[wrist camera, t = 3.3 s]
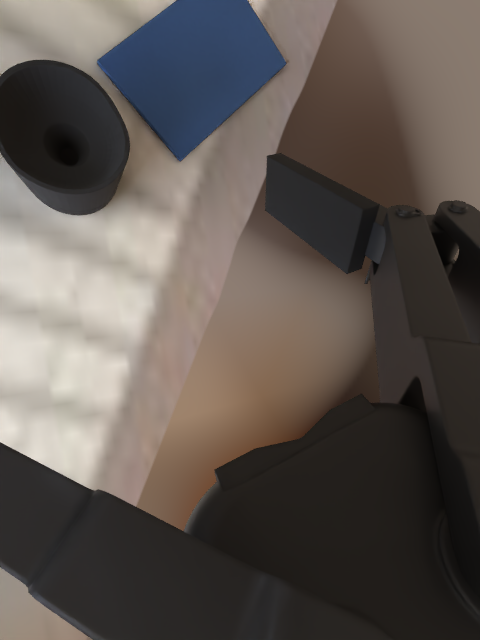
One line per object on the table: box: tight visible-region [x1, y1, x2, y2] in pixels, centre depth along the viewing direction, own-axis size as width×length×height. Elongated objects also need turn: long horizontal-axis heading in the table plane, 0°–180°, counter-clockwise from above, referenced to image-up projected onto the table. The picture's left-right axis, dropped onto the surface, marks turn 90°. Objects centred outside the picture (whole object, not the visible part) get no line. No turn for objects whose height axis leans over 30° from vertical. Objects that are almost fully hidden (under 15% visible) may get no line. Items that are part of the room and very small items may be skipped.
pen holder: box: [0, 60, 130, 215], centre depth 29 cm, size 9×9×10 cm
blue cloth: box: [97, 0, 286, 161], centre depth 37 cm, size 12×20×1 cm, turn 135°
